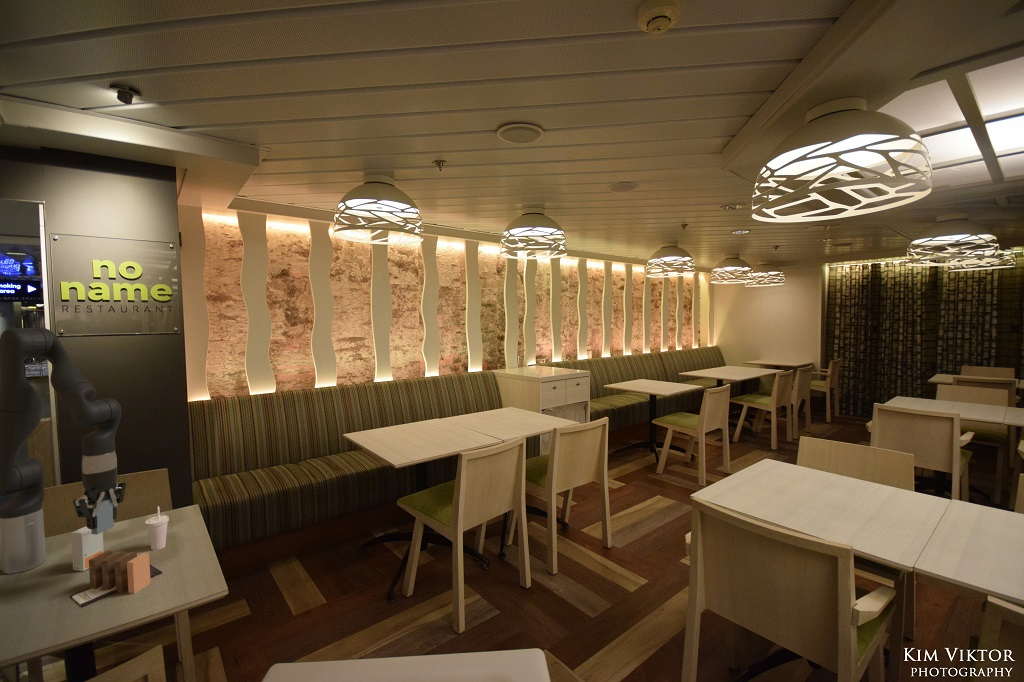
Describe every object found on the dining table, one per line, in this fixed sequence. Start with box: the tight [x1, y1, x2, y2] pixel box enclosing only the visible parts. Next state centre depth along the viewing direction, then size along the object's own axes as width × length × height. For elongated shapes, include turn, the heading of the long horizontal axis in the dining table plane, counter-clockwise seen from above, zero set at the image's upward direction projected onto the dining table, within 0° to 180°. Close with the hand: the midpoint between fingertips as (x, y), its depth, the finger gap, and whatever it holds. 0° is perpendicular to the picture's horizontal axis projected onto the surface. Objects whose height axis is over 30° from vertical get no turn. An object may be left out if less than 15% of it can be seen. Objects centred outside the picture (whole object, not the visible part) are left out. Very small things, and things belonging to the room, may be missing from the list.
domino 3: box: [102, 550, 126, 590], centre depth 128 cm, size 2×5×9 cm, turn 175°
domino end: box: [127, 552, 152, 595], centre depth 127 cm, size 2×5×9 cm, turn 175°
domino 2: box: [88, 550, 113, 589], centre depth 129 cm, size 2×5×9 cm, turn 174°
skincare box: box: [70, 525, 105, 572], centre depth 139 cm, size 6×4×12 cm
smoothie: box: [144, 505, 170, 551], centre depth 149 cm, size 6×6×14 cm
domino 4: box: [114, 551, 138, 593], centre depth 128 cm, size 2×5×9 cm, turn 174°
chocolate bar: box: [69, 564, 163, 608], centre depth 129 cm, size 9×1×18 cm
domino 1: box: [90, 499, 115, 535], centre depth 131 cm, size 2×5×9 cm, turn 176°
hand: (102, 523), depth 131 cm, fingers closed on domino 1, 5 cm apart
